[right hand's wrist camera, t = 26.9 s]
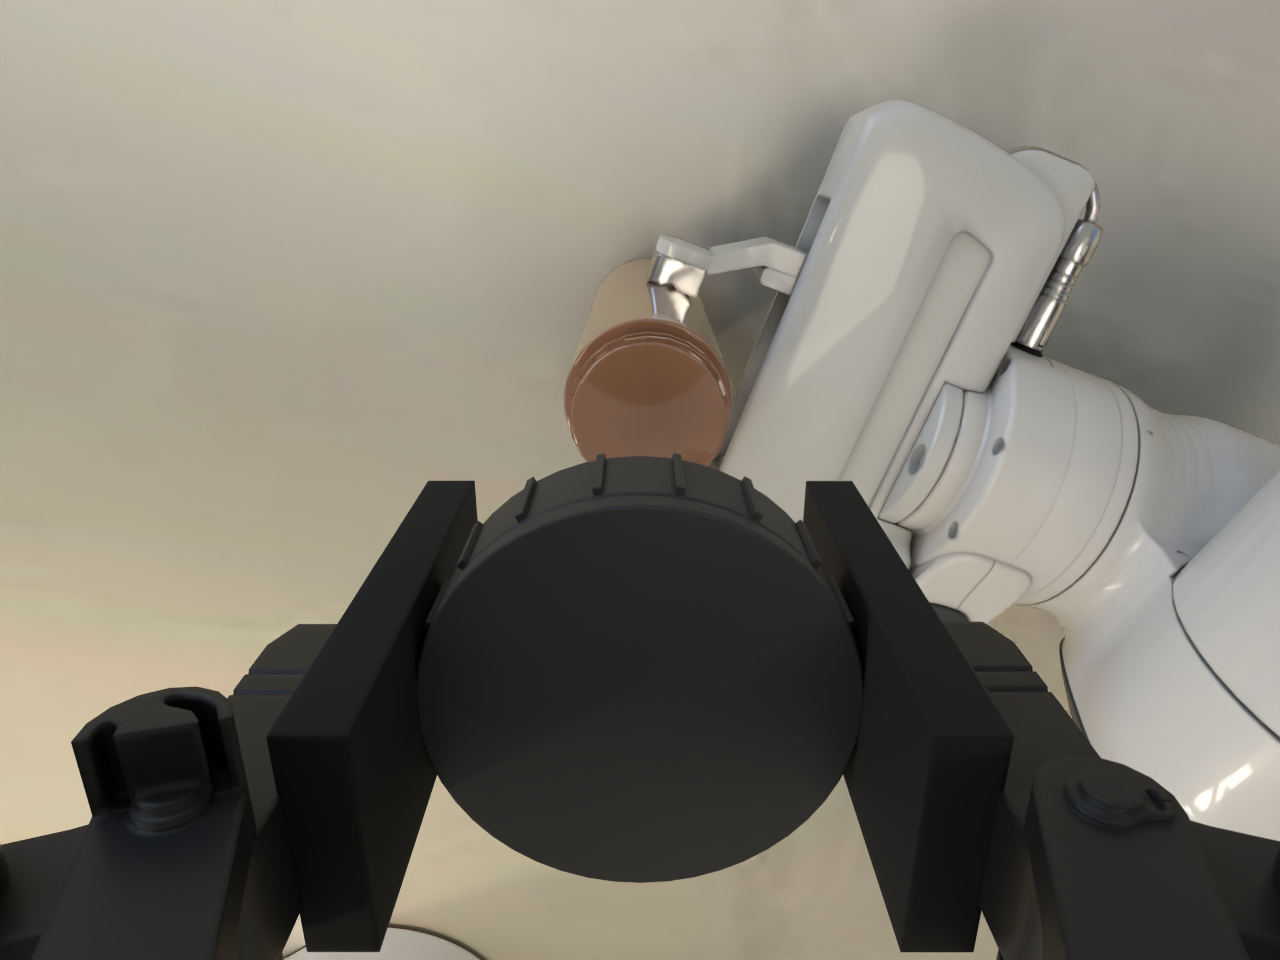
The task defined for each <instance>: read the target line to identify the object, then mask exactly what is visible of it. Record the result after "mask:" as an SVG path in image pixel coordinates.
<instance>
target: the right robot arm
mask: <svg viewBox="0 0 1280 960" xmlns="http://www.w3.org/2000/svg"><path fill="white" fill-rule="evenodd" d="M476 523H477V508H476V494H475V481H428V482H427V484H426V485H425V487H424V489H423V490H422V492H421V493H420V495H419V496H418V498H417V500H416V501H415V503H414V504H413V506H412V507H411V509H410V511H409V512H408V514H407V515H406V517H405V519H404V520H403V522H402V523H401V525H400V526H399V528H398V530H397V531H396V533H395V534H394V536H393V537H392V539H391V541H390V542H389V544H388V545H387V547H386V548H385V550H384V552H383V553H382V555H381V556H380V558H379V559H378V561H377V563H376V564H375V566H374V567H373V569H372V570H371V572H370V574H369V575H368V577H367V578H366V580H365V582H364V583H363V585H362V586H361V588H360V589H359V591H358V593H357V594H356V596H355V597H354V599H353V600H352V602H351V604H350V605H349V607H348V608H347V610H346V611H345V613H344V615H343V616H342V618H341V619H340V621H339V622H338V624H298V625H297V626H295V627H294V628H292V629H291V630H289V631H288V632H286V633H285V634H283V635H282V636H280V637H279V638H277V639H276V640H274V641H273V642H271V643H270V644H268V645H267V646H266V648H265V649H264V650H263V652H262V653H261V654H260V656H259V657H258V658H257V660H256V661H255V662H254V664H253V665H252V666H251V668H250V669H249V674H248V675H245V676H244V677H243V678H242V680H241V681H240V682H239V684H238V685H237V686H236V688H235V689H234V694H233V695H230V696H229V697H228V698H226V697H224V696H223V695H222V694H221V693H220V692H218V691H213V690H209V689H205V688H200V687H182V688H168V689H163V690H159V691H155V692H151V693H147V694H142V695H139V696H136V697H134V698H132V699H129V700H127V701H125V702H122V703H120V704H118V705H115V706H113V707H111V708H109V709H108V710H106V711H105V712H103V713H102V714H100V715H99V716H97V717H96V718H94V719H93V720H91V721H90V722H88V723H87V724H86V725H85V726H84V727H83V728H82V730H81V731H80V732H79V733H78V734H77V736H76V737H75V738H74V739H73V740H72V742H71V744H72V747H73V751H74V754H75V757H76V761H77V764H78V768H79V771H80V775H81V778H82V782H83V785H84V788H85V792H86V795H87V799H88V802H89V806H90V809H91V812H92V818H91V821H90V823H89V825H85V826H82V827H78V828H75V829H71V830H67V831H62V832H58V833H53V834H49V835H44V836H39V837H35V838H30V839H26V840H21V841H17V842H12V843H8V844H3V845H0V960H284V958H283V954H282V952H283V949H284V947H285V945H286V943H287V940H288V938H289V936H290V934H291V931H292V929H293V927H294V925H295V922H296V920H297V918H298V916H299V913H300V917H301V923H302V928H303V933H304V938H305V944H306V949H307V952H380V950H381V947H382V944H383V941H384V937H385V934H386V931H387V928H388V925H389V922H390V919H391V916H392V913H393V910H394V906H395V903H396V900H397V897H398V894H399V891H400V888H401V885H402V882H403V879H404V876H405V872H406V869H407V866H408V863H409V860H410V857H411V854H412V851H413V848H414V845H415V842H416V838H417V835H418V832H419V829H420V826H421V823H422V820H423V817H424V814H425V811H426V808H427V804H428V801H429V798H430V795H431V792H432V789H433V786H434V783H435V780H436V777H437V773H436V771H435V769H434V767H433V765H432V763H431V761H430V759H429V757H428V754H427V751H426V748H425V745H424V743H423V740H422V733H421V725H420V717H419V707H418V698H417V688H416V677H417V669H418V661H419V658H420V654H421V650H422V647H423V643H424V640H425V637H426V634H427V632H428V630H426V629H423V627H424V624H425V621H426V619H427V617H428V615H429V612H430V610H431V608H432V606H433V604H434V601H435V599H436V597H437V595H438V593H439V590H440V588H441V586H442V584H443V582H444V579H445V578H449V579H451V577H452V575H453V573H454V571H455V569H456V565H457V563H458V560H459V558H460V556H461V554H462V551H463V549H464V547H465V545H466V542H467V540H468V538H469V536H470V533H471V531H472V529H473V526H474V525H475V524H476ZM803 523H804V524H805V526H806V528H807V530H808V532H809V535H810V537H811V539H812V542H813V544H814V546H815V548H816V551H817V553H818V555H819V558H820V560H821V562H822V564H823V566H824V569H825V571H826V573H827V575H828V577H832V576H834V577H835V579H836V581H837V584H838V586H839V588H840V590H841V592H842V595H843V597H844V599H845V601H846V603H847V606H848V608H849V610H850V612H851V614H852V617H853V619H854V621H855V624H856V627H855V628H851V630H852V632H853V634H854V637H855V641H856V644H857V648H858V651H859V654H860V658H861V662H862V670H863V678H864V693H863V703H862V712H861V721H860V729H859V736H858V739H857V742H856V745H855V748H854V751H853V754H852V757H851V759H850V761H849V763H848V765H847V767H846V769H845V771H844V773H843V775H844V778H845V781H846V784H847V787H848V790H849V794H850V797H851V800H852V803H853V806H854V809H855V812H856V815H857V818H858V821H859V824H860V828H861V831H862V834H863V837H864V840H865V843H866V846H867V849H868V852H869V855H870V858H871V862H872V865H873V868H874V871H875V874H876V877H877V880H878V883H879V886H880V889H881V893H882V896H883V899H884V902H885V905H886V908H887V911H888V914H889V917H890V920H891V923H892V927H893V930H894V933H895V936H896V939H897V942H898V945H899V948H900V951H901V952H974V946H975V941H976V936H977V931H978V925H979V920H980V915H981V910H982V912H983V914H984V917H985V919H986V921H987V923H988V926H989V928H990V930H991V932H992V935H993V937H994V939H995V941H996V944H997V946H998V948H999V949H998V954H997V958H996V960H1280V841H1276V840H1272V839H1267V838H1263V837H1258V836H1253V835H1249V834H1244V833H1240V832H1235V831H1231V830H1226V829H1221V828H1217V827H1212V826H1209V825H1205V824H1202V823H1198V822H1195V821H1191V820H1190V819H1189V817H1188V815H1187V813H1186V812H1185V810H1184V809H1183V808H1182V806H1181V805H1180V803H1179V802H1178V801H1177V799H1176V798H1175V796H1174V795H1173V794H1171V793H1170V792H1169V791H1168V790H1166V789H1165V788H1164V787H1162V786H1161V785H1160V784H1159V783H1157V782H1156V781H1155V780H1153V779H1152V778H1151V777H1149V776H1147V775H1145V774H1142V773H1140V772H1138V771H1136V770H1134V769H1132V768H1130V767H1128V766H1126V765H1124V764H1121V763H1117V762H1113V761H1110V760H1106V759H1102V758H1101V757H1100V756H1099V755H1098V753H1097V752H1096V751H1095V749H1094V748H1093V747H1092V745H1091V744H1090V743H1089V741H1088V740H1087V739H1086V737H1085V736H1084V735H1083V733H1082V732H1081V731H1080V729H1079V728H1078V727H1077V725H1076V724H1075V723H1074V721H1073V720H1072V719H1071V718H1070V716H1069V715H1068V714H1067V712H1066V711H1065V710H1064V708H1063V707H1062V706H1061V704H1060V703H1059V702H1058V700H1057V699H1056V698H1055V696H1054V695H1053V694H1052V692H1048V690H1047V688H1048V687H1047V686H1046V684H1045V683H1044V682H1043V680H1042V679H1041V678H1040V676H1039V675H1038V674H1037V672H1033V671H1032V666H1031V664H1030V663H1029V662H1028V661H1027V659H1026V658H1025V657H1024V655H1023V654H1022V653H1021V651H1020V650H1019V649H1018V647H1017V646H1016V645H1015V643H1014V642H1012V641H1011V640H1009V639H1008V638H1006V637H1005V636H1003V635H1002V634H1000V633H999V632H997V631H996V630H994V629H993V628H991V627H990V626H988V625H987V624H985V623H984V622H941V620H940V618H939V617H938V615H937V614H936V612H935V611H934V609H933V607H932V606H931V604H930V603H929V601H928V600H927V598H926V596H925V595H924V593H923V592H922V590H921V589H920V587H919V585H918V584H917V582H916V581H915V579H914V577H913V576H912V574H911V573H910V571H909V570H908V568H907V566H906V565H905V563H904V562H903V560H902V559H901V557H900V555H899V554H898V552H897V551H896V549H895V548H894V546H893V544H892V543H891V541H890V540H889V538H888V537H887V535H886V533H885V532H884V530H883V529H882V527H881V526H880V524H879V522H878V521H877V519H876V518H875V516H874V514H873V513H872V511H871V510H870V508H869V507H868V505H867V503H866V502H865V500H864V499H863V497H862V496H861V494H860V492H859V491H858V489H857V488H856V486H855V485H854V483H853V481H806V488H805V501H804V515H803Z"/></svg>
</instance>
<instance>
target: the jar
mask: <svg viewBox="0 0 1280 960" xmlns="http://www.w3.org/2000/svg"><path fill="white" fill-rule="evenodd" d="M651 260H652V258H644V259H636V260H632V261H629V262H627V263H624V264H622V265H621V266H619V267H617V268H616V269H615V270H613V271H612V272H611V273H610V274H609V275H608V276H607V277H606V278H605V279H604V281H603V282H602V284H601V285H600V287H599V289H598V291H597V293H596V296H595V299H594V302H593V304H592V307H591V310H590V313H589V316H588V319H587V322H586V325H585V328H584V330H583V333H582V336H581V339H580V342H579V345H578V348H577V351H576V354H575V356H574V359H573V362H572V365H571V368H570V371H569V374H568V377H567V381H566V385H565V392H564V408H565V416H566V419H567V423H568V426H569V429H570V431H571V434H572V437H573V439H574V441H575V443H576V445H577V447H578V449H579V451H580V453H581V455H582V456H583V457H584V459H585V460H586V461H587V462H591V461H596V457H597V455H598V454H605V457H606V459H607V458H614V457H629V456H650V457H667V458H672V456H673V453H676V454H681V458H682V460H683V461H689V462H694V463H697V464H701V465H704V466H707V467H708V466H709V465H710V463H711V462H712V461H713V459H714V458H715V457H716V456H717V454H718V453H719V452H720V450H721V447H722V445H723V443H724V440H725V438H726V436H727V433H728V426H729V423H730V419H731V414H732V407H733V392H732V386H731V380H730V377H729V374H728V371H727V368H726V366H725V363H724V360H723V358H722V355H721V352H720V349H719V347H718V344H717V341H716V339H715V336H714V333H713V330H712V328H711V325H710V322H709V320H708V317H707V314H706V311H705V309H704V306H703V303H702V301H701V298H700V295H699V292H698V294H697V297H696V298H695V297H692V296H689V295H686V294H684V293H681V292H679V291H677V290H676V288H675V287H674V285H669V286H662V285H659V284H656V283H654V282H652V281H650V280H648V279H647V278H646V277H647V276H646V275H647V272H648V269H649V266H650V263H651Z"/></svg>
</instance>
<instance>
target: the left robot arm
mask: <svg viewBox="0 0 1280 960" xmlns="http://www.w3.org/2000/svg"><path fill="white" fill-rule="evenodd" d="M1085 205H1086V212H1085V216H1084V220H1081V219H1079V217H1080V215H1081V213H1082V211H1083V209H1084V207H1085ZM1099 209H1100V196H1099V191H1098V187H1097V184H1096V182H1095V180H1094V177H1093V176H1092V175H1091V174H1090V173H1089V171H1088V170H1087V169H1086V168H1084V167H1083V166H1082V165H1080V164H1079V163H1077V162H1075V161H1072V160H1070V159H1067V158H1065V157H1062V156H1060V155H1057V154H1055V153H1053V152H1050V151H1048V150H1045V149H1043V148H1039V147H1034V146H1023V147H1016V148H1013V149H1010V150H1007V151H1004V150H1002V149H1001V148H999V147H997V146H996V145H994V144H993V143H991V142H989V141H988V140H986V139H984V138H983V137H981V136H979V135H977V134H976V133H974V132H972V131H971V130H969V129H967V128H965V127H963V126H961V125H959V124H958V123H956V122H954V121H952V120H950V119H948V118H946V117H944V116H942V115H940V114H938V113H935V112H933V111H931V110H929V109H927V108H925V107H922V106H920V105H917V104H915V103H913V102H909V101H904V100H888V101H885V102H881V103H878V104H876V105H873V106H871V107H869V108H867V109H864V110H862V111H860V112H858V113H856V114H854V115H853V116H852V117H850V119H849V120H848V121H847V123H846V125H845V127H844V129H843V132H842V134H841V136H840V139H839V141H838V144H837V146H836V149H835V151H834V154H833V156H832V158H831V161H830V163H829V166H828V168H827V171H826V173H825V176H824V178H823V180H822V183H821V185H820V188H819V190H818V193H817V195H816V198H815V200H814V202H813V205H812V207H811V210H810V212H809V215H808V217H807V220H806V222H805V224H804V227H803V229H802V232H801V234H800V237H799V239H798V241H797V244H796V246H795V247H793V246H790V245H787V244H784V243H782V242H779V241H776V240H774V239H771V238H768V237H760V238H755V239H749V240H744V241H739V242H734V243H729V244H723V245H718V246H713V247H710V249H709V250H706V249H704V248H701V247H698V246H696V245H693V244H690V243H687V242H685V241H682V240H679V239H677V238H674V237H671V236H667V235H664V234H660V237H659V240H658V243H657V246H656V248H655V251H654V254H653V257H652V260H651V263H650V266H649V269H648V272H647V275H646V276H647V277H646V278H647V279H648V280H650V281H652V282H654V283H656V284H659V285H662V286H669V285H674V287H675V288H676V290H677V291H679V292H681V293H684V294H686V295H689V296H692V297H695V298H696V297H697V294H698V292H699V289H700V287H701V284H702V282H703V279H704V277H705V274H706V275H713V274H719V273H725V272H731V271H736V270H742V269H748V268H754V269H753V274H754V276H755V277H756V278H757V280H758V281H759V282H760V283H761V284H762V285H765V286H767V287H770V288H772V289H775V290H777V293H776V295H775V298H774V300H773V303H772V305H771V307H770V310H769V312H768V315H767V317H766V320H765V322H764V325H763V327H762V329H761V332H760V334H759V337H758V339H757V342H756V344H755V347H754V349H753V351H752V354H751V356H750V359H749V361H748V364H747V366H746V369H745V371H744V373H743V376H742V378H741V381H740V383H739V386H738V388H737V391H736V393H735V395H734V398H733V407H732V414H731V419H730V423H729V426H728V433H727V436H726V438H725V440H724V443H723V445H722V447H721V450H720V452H719V453H718V454H717V456H716V457H715V458H714V459H713V461H712V462H711V463H710V465H709V466H708V467H710V468H713V469H716V470H719V471H722V472H724V473H726V474H728V475H730V476H733V477H735V478H737V479H739V480H741V481H742V479H743V478H744V476H746V477H747V478H749V479H751V480H752V483H753V486H754V488H755V489H756V490H758V491H759V492H761V493H763V494H764V495H766V496H767V497H768V498H770V499H771V500H772V501H773V502H774V503H775V504H777V505H778V506H779V507H780V508H781V509H783V510H784V511H785V512H786V513H787V514H788V515H789V516H790V517H791V518H792V520H793V521H794V522H795V523H796V522H798V521H799V520H802V521H803V515H804V501H805V488H806V481H853V483H854V485H855V486H856V488H857V489H858V491H859V492H860V494H861V496H862V497H863V499H864V500H865V502H866V503H867V505H868V507H869V508H870V510H871V511H872V513H873V514H874V516H875V518H876V519H877V521H878V522H879V524H880V526H881V527H882V529H883V530H884V532H885V533H886V535H887V537H888V538H889V540H890V541H891V543H892V544H893V546H894V548H895V549H896V551H897V552H898V554H899V555H900V557H901V559H902V560H903V562H904V563H905V565H906V566H907V568H908V570H909V571H910V573H911V574H912V576H913V577H914V579H915V581H916V582H917V584H918V585H919V587H920V589H921V590H922V592H923V593H924V595H925V596H926V598H927V600H928V601H929V603H930V604H931V606H932V607H933V609H934V611H935V612H936V614H937V615H938V617H939V618H940V620H941V622H984V623H985V624H988V623H989V622H991V621H992V620H993V619H995V618H996V617H997V616H999V615H1000V614H1001V613H1003V612H1004V611H1005V610H1007V609H1008V608H1009V607H1011V606H1012V605H1014V604H1017V605H1024V606H1030V607H1036V608H1040V609H1043V610H1046V611H1048V612H1049V613H1051V614H1052V615H1053V616H1054V617H1055V618H1056V619H1057V620H1058V621H1059V622H1060V624H1061V625H1062V627H1063V629H1064V632H1065V638H1063V639H1062V640H1061V643H1060V660H1061V668H1062V675H1063V680H1064V685H1065V689H1066V694H1067V698H1068V703H1069V707H1070V712H1071V716H1072V720H1073V721H1074V723H1075V724H1076V725H1077V727H1078V728H1079V729H1080V731H1081V732H1082V733H1083V735H1084V736H1085V737H1086V739H1087V740H1088V741H1089V743H1090V744H1091V745H1092V747H1093V748H1094V749H1095V751H1096V752H1097V753H1098V755H1099V756H1100V757H1101V758H1102V759H1106V760H1110V761H1113V762H1117V763H1121V764H1124V765H1126V766H1128V767H1130V768H1132V769H1134V770H1136V771H1138V772H1140V773H1142V774H1145V775H1147V776H1149V777H1151V778H1152V779H1153V780H1155V781H1156V782H1157V783H1159V784H1160V785H1161V786H1162V787H1164V788H1165V789H1166V790H1168V791H1169V792H1170V793H1171V794H1173V795H1174V796H1175V798H1176V799H1177V801H1178V802H1179V803H1180V805H1181V806H1182V808H1183V809H1184V810H1185V812H1186V813H1187V815H1188V817H1189V819H1190V820H1191V821H1195V822H1198V823H1202V824H1205V825H1209V826H1212V827H1217V828H1221V829H1226V830H1231V831H1235V832H1240V833H1244V834H1249V835H1253V836H1258V837H1263V838H1267V839H1272V840H1276V841H1280V446H1278V445H1276V444H1273V443H1271V442H1269V441H1266V440H1264V439H1261V438H1259V437H1257V436H1254V435H1252V434H1249V433H1247V432H1244V431H1242V430H1239V429H1237V428H1234V427H1231V426H1229V425H1226V424H1224V423H1221V422H1218V421H1215V420H1212V419H1208V418H1203V417H1198V416H1188V415H1170V414H1165V413H1162V412H1159V411H1157V410H1155V409H1153V408H1151V407H1149V406H1148V405H1147V404H1145V403H1144V402H1143V401H1142V400H1141V399H1140V398H1138V397H1137V396H1136V395H1134V394H1133V393H1132V392H1130V391H1129V390H1128V389H1126V388H1124V387H1122V386H1120V385H1118V384H1116V383H1113V382H1111V381H1109V380H1105V379H1103V378H1100V377H1097V376H1095V375H1092V374H1089V373H1087V372H1084V371H1081V370H1079V369H1076V368H1073V367H1071V366H1068V365H1065V364H1063V363H1060V362H1057V361H1055V360H1052V359H1050V358H1047V357H1045V356H1043V355H1042V354H1041V353H1042V351H1043V349H1044V347H1045V345H1046V343H1047V341H1048V339H1049V338H1050V336H1051V334H1052V332H1053V330H1054V328H1055V326H1056V324H1057V322H1058V320H1059V318H1060V317H1061V314H1062V312H1063V310H1064V308H1065V306H1066V304H1065V303H1066V302H1067V301H1068V298H1069V296H1068V295H1069V294H1070V293H1071V290H1072V288H1071V287H1072V286H1074V284H1075V282H1076V280H1075V279H1077V278H1078V276H1079V274H1080V272H1081V271H1082V269H1083V267H1086V266H1087V264H1088V263H1089V261H1090V260H1091V258H1092V256H1093V255H1094V253H1095V251H1096V249H1097V246H1098V244H1099V241H1100V238H1101V235H1102V231H1103V228H1102V227H1101V226H1099V225H1096V222H1097V219H1098V215H1099ZM284 960H480V959H479V958H477V957H476V956H475V955H473V954H472V953H470V952H468V951H467V950H465V949H463V948H461V947H459V946H457V945H455V944H453V943H451V942H449V941H446V940H444V939H441V938H438V937H435V936H432V935H429V934H425V933H421V932H417V931H412V930H406V929H398V928H387V931H386V934H385V937H384V941H383V944H382V947H381V950H380V952H307V949H306V947H304V948H303V949H301V950H299V951H298V952H296V953H295V954H293V955H291V956H289V957H286V958H284Z"/></svg>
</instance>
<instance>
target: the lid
mask: <svg viewBox="0 0 1280 960" xmlns="http://www.w3.org/2000/svg"><path fill="white" fill-rule="evenodd" d="M855 627H856V624H855V621H854V619H853V617H852V614H851V612H850V610H849V608H848V606H847V603H846V601H845V599H844V597H843V595H842V592H841V590H840V588H839V586H838V584H837V581H836V579H835V577H834V576H832V577H828V575H827V573H826V571H825V569H824V566H823V564H822V562H821V560H820V558H819V555H818V553H817V551H816V548H815V546H814V544H813V542H812V539H811V537H810V535H809V532H808V530H807V528H806V526H805V524H804V523H803V521H802V520H799V521H798V522H796V523H795V522H794V521H793V520H792V518H791V517H790V516H789V515H788V514H787V513H786V512H785V511H784V510H783V509H781V508H780V507H779V506H778V505H777V504H775V503H774V502H773V501H772V500H771V499H770V498H768V497H767V496H766V495H764V494H763V493H761V492H759V491H758V490H756V489H755V488H754V486H753V483H752V480H751V479H749V478H747V477H746V476H744V478H743V479H742V481H741V480H739V479H737V478H735V477H733V476H730V475H728V474H726V473H724V472H722V471H719V470H716V469H713V468H710V467H707V466H704V465H701V464H697V463H694V462H689V461H683V460H682V458H681V454H676V453H673V456H672V458H667V457H650V456H629V457H614V458H607V459H606V457H605V454H598V455H597V457H596V461H591V462H586V463H582V464H579V465H576V466H573V467H570V468H567V469H564V470H561V471H558V472H556V473H554V474H551V475H549V476H547V477H545V478H543V479H541V480H539V481H536V480H535V478H534V477H532V478H531V479H529V480H527V482H526V485H525V488H524V490H522V491H521V492H519V493H517V494H516V495H514V496H513V497H511V498H510V499H509V500H508V501H507V502H506V503H504V504H503V505H502V506H501V507H500V508H499V509H497V510H496V511H495V512H494V513H493V514H492V515H491V516H490V517H489V518H488V519H487V520H486V522H485V523H484V524H482V523H481V522H479V521H477V523H476V524H475V525H474V526H473V529H472V531H471V533H470V536H469V538H468V540H467V542H466V545H465V547H464V549H463V551H462V554H461V556H460V558H459V560H458V563H457V565H456V569H455V571H454V573H453V575H452V577H451V579H449V578H445V579H444V582H443V584H442V586H441V588H440V590H439V593H438V595H437V597H436V599H435V601H434V604H433V606H432V608H431V610H430V612H429V615H428V617H427V619H426V621H425V624H424V627H423V629H426V630H428V632H427V634H426V637H425V640H424V643H423V647H422V650H421V654H420V658H419V661H418V669H417V677H416V688H417V698H418V707H419V717H420V725H421V733H422V740H423V743H424V745H425V748H426V751H427V754H428V757H429V759H430V761H431V763H432V765H433V767H434V769H435V771H436V773H437V775H438V777H439V778H440V780H441V782H442V783H443V785H444V786H445V788H446V789H447V790H448V792H449V793H450V795H451V796H452V797H453V799H454V800H455V801H456V803H457V804H458V805H459V806H460V807H461V808H462V809H463V810H464V811H465V812H466V813H467V814H468V815H469V816H470V817H471V819H472V820H473V821H475V822H476V823H477V824H478V825H480V826H481V827H482V828H483V829H484V830H486V831H487V832H488V833H489V834H490V835H492V836H493V837H494V838H496V839H498V840H499V841H501V842H502V843H504V844H505V845H507V846H508V847H510V848H511V849H513V850H515V851H517V852H519V853H521V854H523V855H525V856H527V857H529V858H531V859H533V860H535V861H537V862H539V863H542V864H545V865H547V866H550V867H553V868H555V869H558V870H561V871H564V872H568V873H572V874H576V875H580V876H584V877H588V878H595V879H601V880H608V881H616V882H637V883H644V882H663V881H672V880H679V879H685V878H692V877H696V876H700V875H704V874H708V873H712V872H715V871H719V870H722V869H725V868H727V867H730V866H733V865H735V864H738V863H741V862H743V861H745V860H747V859H749V858H751V857H753V856H755V855H757V854H759V853H761V852H763V851H765V850H767V849H769V848H770V847H772V846H773V845H775V844H776V843H778V842H779V841H781V840H782V839H784V838H785V837H787V836H788V835H790V834H791V833H792V832H793V831H794V830H796V829H797V828H798V827H799V826H800V825H802V824H803V823H804V822H805V821H806V820H808V819H809V818H810V816H811V815H812V814H813V813H814V812H815V811H816V810H817V809H818V808H819V807H820V806H821V805H822V804H823V802H824V801H825V800H826V799H827V797H828V796H829V795H830V793H831V792H832V790H833V789H834V787H835V786H836V785H837V783H838V782H839V780H840V778H841V777H842V775H843V773H844V771H845V769H846V767H847V765H848V763H849V761H850V759H851V757H852V754H853V751H854V748H855V745H856V742H857V739H858V736H859V729H860V721H861V712H862V703H863V693H864V678H863V670H862V662H861V658H860V654H859V651H858V648H857V644H856V641H855V637H854V634H853V632H852V630H851V628H855Z"/></svg>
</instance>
